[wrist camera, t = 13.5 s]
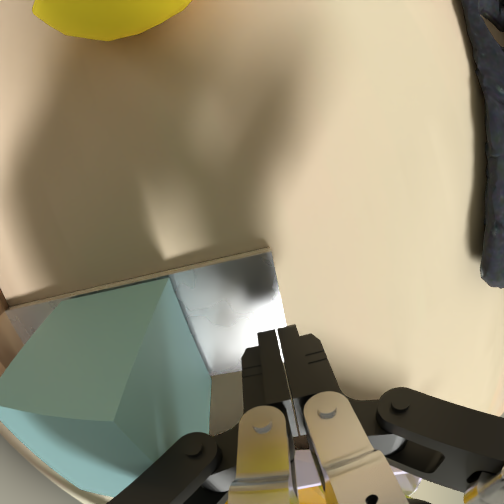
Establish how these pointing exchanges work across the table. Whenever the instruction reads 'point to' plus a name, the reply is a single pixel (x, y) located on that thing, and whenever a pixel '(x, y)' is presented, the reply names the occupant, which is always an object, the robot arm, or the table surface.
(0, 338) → the socket block
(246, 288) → the rail
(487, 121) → the holed black stone slab
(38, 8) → the lemon
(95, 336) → the teal block
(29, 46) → the table surface
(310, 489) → the fruit bowl
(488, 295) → the table surface
